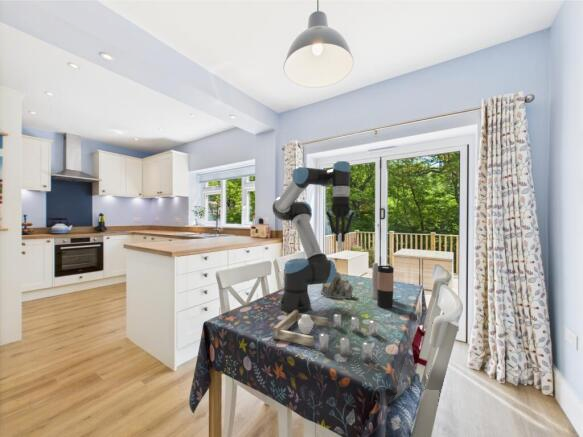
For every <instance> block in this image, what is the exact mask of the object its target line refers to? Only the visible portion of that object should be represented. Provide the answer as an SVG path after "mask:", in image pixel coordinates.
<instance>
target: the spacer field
mask: <svg viewBox="0 0 583 437" xmlns="http://www.w3.org/2000/svg"><path fill="white" fill-rule="evenodd" d="M368 322H369V323H368V325H369V326H368V327H369V328H368V334H369V336H371V337H377V336H378V321H377V320H376V319H369V320H368ZM332 323H333V324H332V326H333V328H334V329H335V330H340V329H341V328H342V314H340V313H334V314H333V322H332ZM359 324H360V318H359V317H358V316H351V317H350V332H352V333H359V329H360V328H359V326H360V325H359ZM318 335H319V338H318V340H319V343H318V350H319V351H320V352H324V353H325V352H328V351H329V333H327V332H320V333H319V334H318ZM339 356H341V357H344V358H345V357H346V358H347V357H349V356H350V338H349V337H348V336H341V337H340V338H339ZM372 356H373V343H372V342H371V341H367V340H363V341H362V343H361V360H362V361H363V362H365V363H370V362H372V360H373V357H372Z"/></svg>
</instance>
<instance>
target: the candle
mask: <svg viewBox="0 0 583 437" xmlns="http://www.w3.org/2000/svg"><path fill="white" fill-rule="evenodd" d="M378 266H379V263H378V262H372V269H371V270H372V272H371V273H372V275H371V276H372V277H371V280H372V281H371V298H372V297H373V298H375V299H374V300H377V282H378ZM373 298H372V299H373Z"/></svg>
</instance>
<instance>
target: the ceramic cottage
mask: <svg viewBox="0 0 583 437" xmlns="http://www.w3.org/2000/svg"><path fill="white" fill-rule="evenodd" d="M321 286H322V288H321V290H320V294H321V295H323V296H322V297H324V296H326V297H325V298H328V297H335V298H334V299H340V298H349V297H352V296H353V290H354V287H353V286H352V284H350V283H349V279H347V278H346V279H344V278H342V276H341V275H340V272H338V270H337V269H336V273H335V277H334V279H333V281H332V282H330V283H325V284H321ZM320 294H319V295H320ZM321 295H320V296H321ZM352 298H353V297H352ZM349 299H350V298H349Z"/></svg>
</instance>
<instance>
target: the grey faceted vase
mask: <svg viewBox="0 0 583 437" xmlns="http://www.w3.org/2000/svg"><path fill="white" fill-rule="evenodd" d="M303 314H304V315H302V316H301V319H300V320H299V321H297V325H298V329H299V331H300V332H301V334H304V335H309V334H310V333H311V331H312V329H313V328H314V325H315V324H314V323H313V321H312V320H311V318H310V316H309V315H310V314H308V315H307V314H306V313H303Z"/></svg>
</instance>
